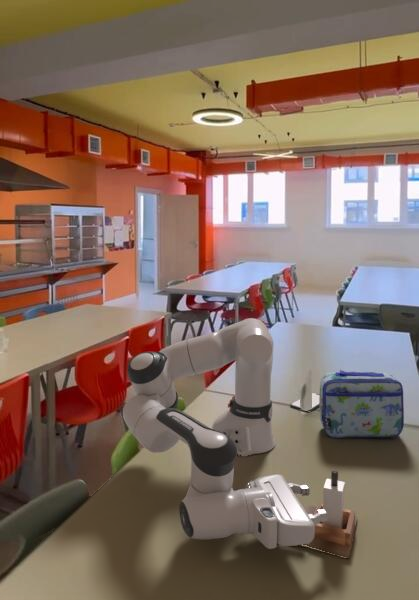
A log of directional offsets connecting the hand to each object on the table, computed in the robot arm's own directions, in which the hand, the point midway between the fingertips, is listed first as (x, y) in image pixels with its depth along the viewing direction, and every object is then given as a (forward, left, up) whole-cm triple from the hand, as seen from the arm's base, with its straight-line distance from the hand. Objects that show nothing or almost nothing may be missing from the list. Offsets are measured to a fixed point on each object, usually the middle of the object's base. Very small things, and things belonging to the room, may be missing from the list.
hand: (317, 501), depth 103 cm
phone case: (-17, +76, -9) cm, 79 cm away
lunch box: (+3, +57, -9) cm, 58 cm away
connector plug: (+3, +3, -8) cm, 9 cm away
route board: (-2, +3, -9) cm, 10 cm away
